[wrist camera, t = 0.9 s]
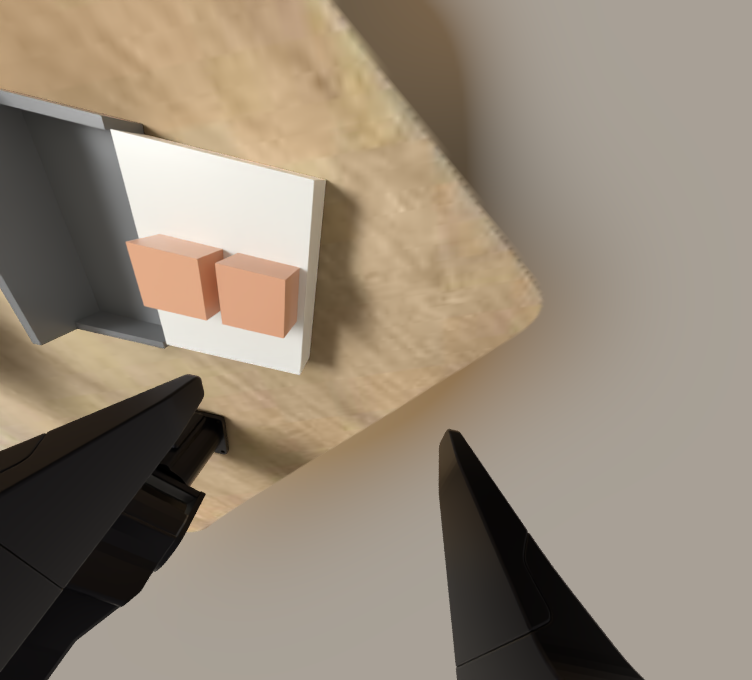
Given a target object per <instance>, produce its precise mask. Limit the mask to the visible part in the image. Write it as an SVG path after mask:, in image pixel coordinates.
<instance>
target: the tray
mask: <svg viewBox="0 0 752 680" xmlns="http://www.w3.org/2000/svg"><path fill="white" fill-rule="evenodd" d="M110 129H113V130H119V131H125V132H131V133H138V134H144V130H143V125H142V124H141V123H137V122H133V121H129V120H125V119H121V118H117V117H113V116H109V115H105V114H101V113H97V112H93V111H89V110H85V109H81V108H77V107H73V106H69V105H65V104H61V103H57V102H53V101H49V100H45V99H41V98H38V97H34V96H30V95H26V94H22V93H18V92H14V91H9V90H5V89H0V289H1V290H2V292H3V294H4V295H5V297H6V299H7V300H8V302H9V304H10V305H11V307H12V309H13V310H14V312H15V314H16V315H17V317H18V319H19V321H20V322H21V324H22V326H23V327H24V329H25V331H26V332H27V334H28V336H29V337H30V339H31V341H32V342H33V343H34V344H38V345H43V344H45V343H47V342H49V341H52V340H54V339H56V338H58V337H60V336H63V335H65V334H67V333H69V332H71V331H73V330H76V329H81V330H86V331H90V332H94V333H99V334H103V335H107V336H112V337H116V338H120V339H125V340H129V341H134V342H138V343H142V344H147V345H151V346H155V347H160V348H164V349H165V348H166V347H167V346H169V345H167V344H166V340H165V336H164V332H163V328H162V325H161V321H160V317H159V313H158V309H155V308H150V307H146V306H144V304H143V300H142V297H141V293H140V290H139V287H138V283H137V280H136V276H135V273H134V269H133V266H132V263H131V259H130V256H129V252H128V249H127V245H126V241H131V240H135V239H139V237H138V233H137V230H136V226H135V222H134V218H133V214H132V211H131V207H130V203H129V199H128V195H127V192H126V188H125V184H124V180H123V176H122V173H121V169H120V165H119V161H118V157H117V154H116V150H115V146H114V142H113V138H112V134H111V131H110Z"/></svg>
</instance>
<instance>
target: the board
mask: <svg viewBox="0 0 752 680" xmlns="http://www.w3.org/2000/svg"><path fill="white" fill-rule="evenodd" d="M110 131H111V134H112V138H113V142H114V146H115V150H116V154H117V157H118V161H119V165H120V169H121V173H122V176H123V180H124V184H125V188H126V192H127V195H128V199H129V203H130V207H131V211H132V214H133V218H134V222H135V226H136V230H137V233H138V237H139V238H144V237H148V236H153V235H157V234H163V235H167V236H171V237H175V238H179V239H183V240H187V241H192V242H196V243H200V244H204V245H208V246H212V247H217V248H221V249H223V258H224V259H225V258H227V257H230V256H232V255H234V254H236V253H241V254H246V255H250V256H254V257H258V258H262V259H266V260H271V261H275V262H279V263H283V264H287V265H291V266H295V267H300V275H299V293H298V311H297V322H296V323H295V324H294V326H293V327H292V328H291V330H290V331H289V332H288V334H287V335H286V336H285V338H279V337H275V336H271V335H266V334H262V333H258V332H253V331H249V330H245V329H241V328H236V327H232V326H228V325H223V324H222V318H221V311H219V312H218V313H217V314H215V315H214V316H212V317H211V318H210V319H208V320H207V321H206V320H202V319H198V318H193V317H189V316H185V315H180V314H176V313H172V312H168V311H163V310H159V309H158V313H159V317H160V321H161V325H162V328H163V332H164V336H165V340H166V344H167V345H171V346H176V347H180V348H184V349H189V350H193V351H197V352H202V353H206V354H211V355H215V356H219V357H224V358H228V359H232V360H237V361H241V362H245V363H250V364H254V365H258V366H263V367H267V368H272V369H276V370H280V371H285V372H289V373H293V374H298V375H300V374H301V372H302V370H303V368H304V367H305V365H306V363H307V361H308V359H309V357H310V346H311V336H312V325H313V314H314V304H315V293H316V282H317V272H318V261H319V250H320V240H321V229H322V218H323V208H324V197H325V186H326V180H325V179H321V178H317V177H313V176H309V175H305V174H301V173H297V172H293V171H289V170H285V169H281V168H277V167H273V166H269V165H265V164H261V163H257V162H253V161H249V160H245V159H241V158H237V157H233V156H229V155H225V154H221V153H217V152H213V151H209V150H205V149H201V148H197V147H193V146H189V145H185V144H181V143H177V142H173V141H170V140H166V139H162V138H158V137H154V136H150V135H144V134H138V133H131V132H125V131H119V130H113V129H110Z"/></svg>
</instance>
